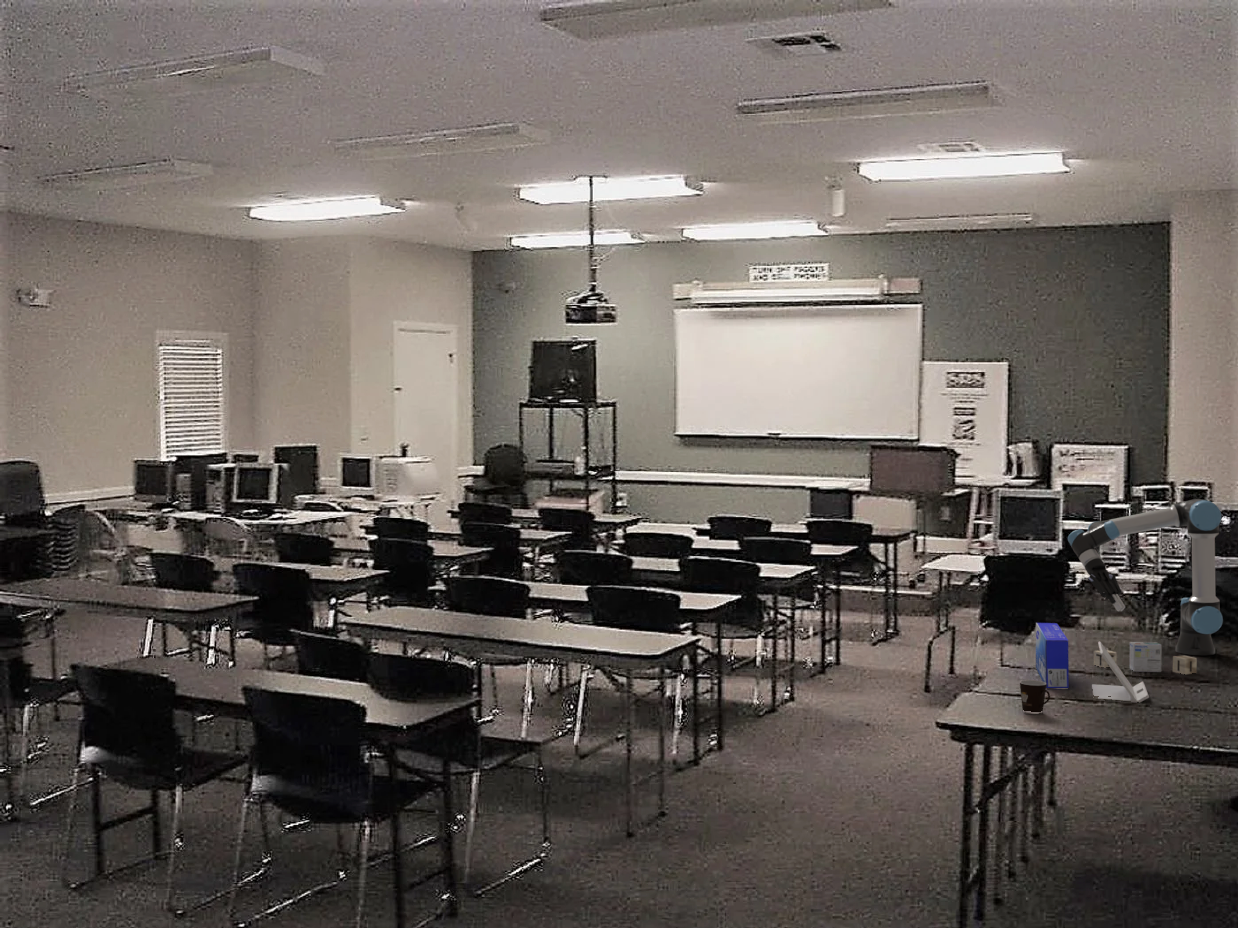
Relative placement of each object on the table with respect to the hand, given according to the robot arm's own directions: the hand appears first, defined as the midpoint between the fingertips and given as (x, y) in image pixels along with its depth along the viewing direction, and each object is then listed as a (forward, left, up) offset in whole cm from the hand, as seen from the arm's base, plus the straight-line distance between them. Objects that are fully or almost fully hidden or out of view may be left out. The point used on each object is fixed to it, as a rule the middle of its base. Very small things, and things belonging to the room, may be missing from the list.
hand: (1121, 609), depth 535 cm
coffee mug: (+90, +57, -22) cm, 109 cm away
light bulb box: (0, +13, -22) cm, 26 cm away
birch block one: (-11, +22, -22) cm, 33 cm away
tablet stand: (+41, +44, -23) cm, 64 cm away
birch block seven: (+9, +1, -22) cm, 24 cm away
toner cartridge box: (+46, +13, -22) cm, 52 cm away
